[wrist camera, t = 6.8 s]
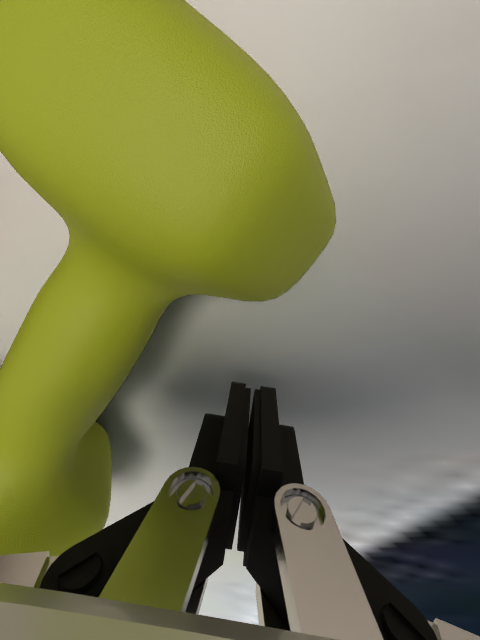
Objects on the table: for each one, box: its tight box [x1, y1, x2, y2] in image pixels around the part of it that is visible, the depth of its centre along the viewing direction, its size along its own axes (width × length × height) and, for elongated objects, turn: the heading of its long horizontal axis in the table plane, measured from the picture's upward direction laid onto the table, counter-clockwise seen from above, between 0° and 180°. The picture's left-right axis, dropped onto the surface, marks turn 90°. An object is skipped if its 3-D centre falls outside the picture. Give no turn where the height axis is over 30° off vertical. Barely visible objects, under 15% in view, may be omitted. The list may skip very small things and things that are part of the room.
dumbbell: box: [0, 0, 336, 556], centre depth 9 cm, size 16×8×7 cm, turn 144°
